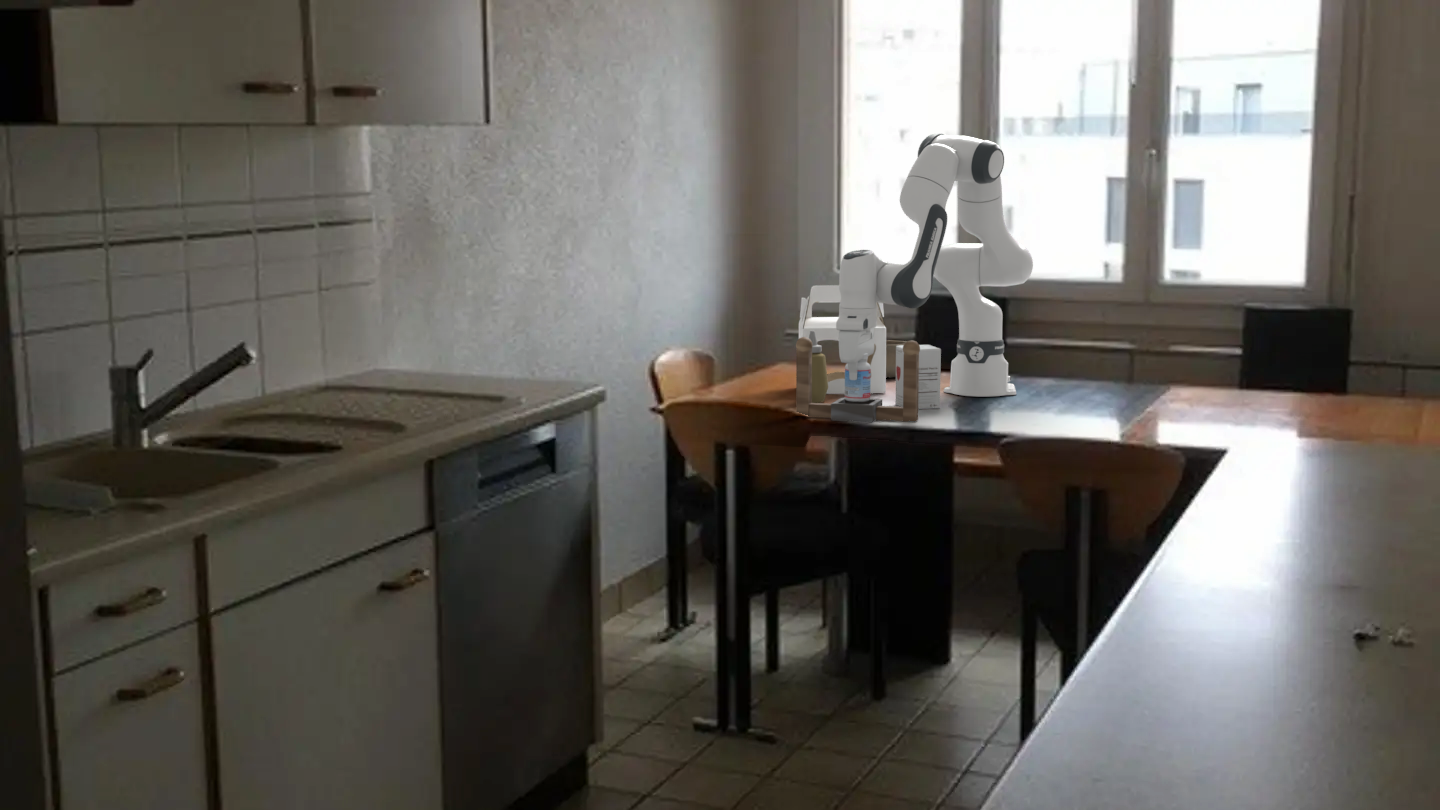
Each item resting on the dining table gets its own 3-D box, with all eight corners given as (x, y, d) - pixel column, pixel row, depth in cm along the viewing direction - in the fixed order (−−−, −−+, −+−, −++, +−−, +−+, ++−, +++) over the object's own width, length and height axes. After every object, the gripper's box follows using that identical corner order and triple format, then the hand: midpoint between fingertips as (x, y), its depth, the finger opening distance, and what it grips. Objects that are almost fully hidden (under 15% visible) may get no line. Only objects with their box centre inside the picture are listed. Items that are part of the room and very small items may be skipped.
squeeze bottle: (831, 400, 433) (832, 330, 430) (823, 404, 425) (823, 333, 422) (801, 399, 435) (801, 329, 432) (792, 403, 428) (792, 332, 425)
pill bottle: (868, 402, 400) (869, 355, 398) (843, 401, 401) (843, 354, 399) (871, 398, 406) (872, 352, 404) (846, 397, 407) (846, 351, 405)
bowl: (877, 371, 489) (877, 336, 487) (922, 377, 475) (922, 341, 473) (833, 376, 478) (833, 341, 476) (878, 383, 464) (878, 346, 463)
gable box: (880, 386, 457) (880, 282, 453) (886, 393, 444) (887, 286, 440) (797, 387, 456) (797, 283, 452) (801, 394, 443) (801, 287, 439)
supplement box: (894, 404, 425) (894, 345, 423) (928, 403, 427) (928, 344, 425) (906, 410, 416) (906, 349, 414) (940, 408, 418) (941, 348, 416)
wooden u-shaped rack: (801, 412, 413) (801, 334, 411) (923, 417, 404) (924, 338, 401) (790, 418, 404) (790, 339, 401) (914, 424, 395) (915, 342, 392)
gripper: (855, 315, 411) (855, 371, 413) (834, 323, 392) (833, 382, 394) (880, 315, 409) (880, 372, 411) (860, 324, 390) (860, 383, 392)
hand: (857, 377), depth 403 cm, fingers closed on pill bottle, 6 cm apart
